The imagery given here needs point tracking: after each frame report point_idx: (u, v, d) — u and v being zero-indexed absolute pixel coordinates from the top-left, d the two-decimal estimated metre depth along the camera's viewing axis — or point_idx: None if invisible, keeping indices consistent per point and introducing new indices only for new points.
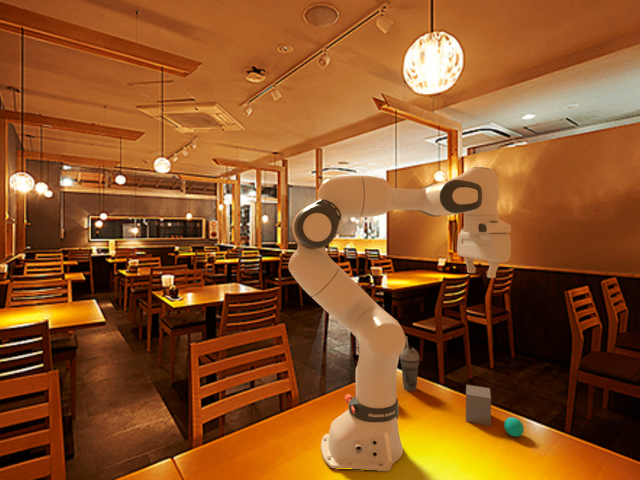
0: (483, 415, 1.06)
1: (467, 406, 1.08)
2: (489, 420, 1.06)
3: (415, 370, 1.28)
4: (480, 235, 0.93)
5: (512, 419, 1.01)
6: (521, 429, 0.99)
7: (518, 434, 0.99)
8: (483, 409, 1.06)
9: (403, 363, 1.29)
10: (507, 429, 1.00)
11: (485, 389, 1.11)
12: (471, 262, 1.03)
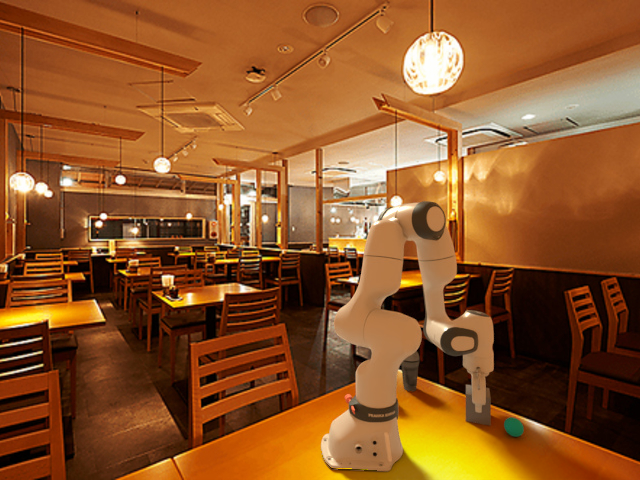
0: (483, 415, 1.07)
1: (467, 406, 1.08)
2: (489, 420, 1.06)
3: (415, 370, 1.28)
4: None
5: (512, 419, 1.01)
6: (521, 429, 0.99)
7: (518, 434, 0.99)
8: (483, 409, 1.07)
9: (403, 363, 1.29)
10: (507, 429, 1.00)
11: None
12: None
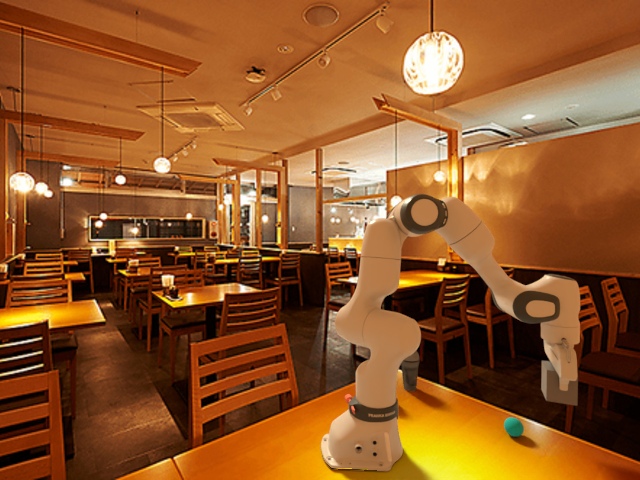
0: (568, 393, 0.92)
1: (548, 383, 0.94)
2: (575, 399, 0.92)
3: (415, 370, 1.28)
4: None
5: (512, 419, 1.01)
6: (521, 429, 0.99)
7: (518, 434, 0.99)
8: (568, 386, 0.92)
9: (403, 363, 1.29)
10: (507, 429, 1.00)
11: None
12: None
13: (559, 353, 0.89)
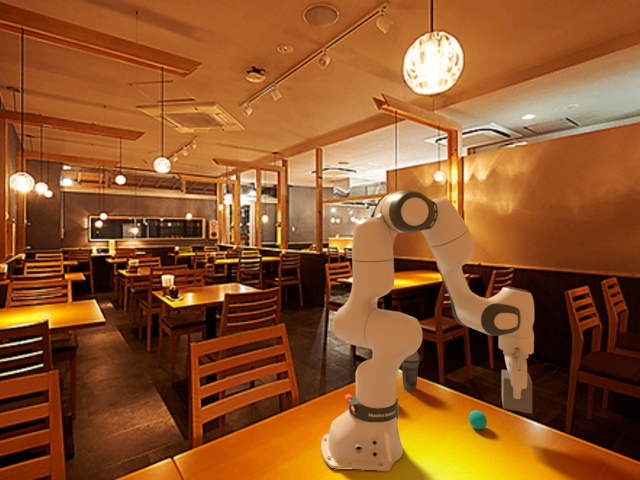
0: (523, 401, 0.96)
1: (505, 391, 0.98)
2: (530, 407, 0.95)
3: (415, 370, 1.28)
4: None
5: None
6: (473, 426, 1.04)
7: (473, 422, 1.03)
8: (523, 394, 0.96)
9: (403, 363, 1.29)
10: (482, 419, 1.03)
11: None
12: None
13: (511, 362, 0.93)
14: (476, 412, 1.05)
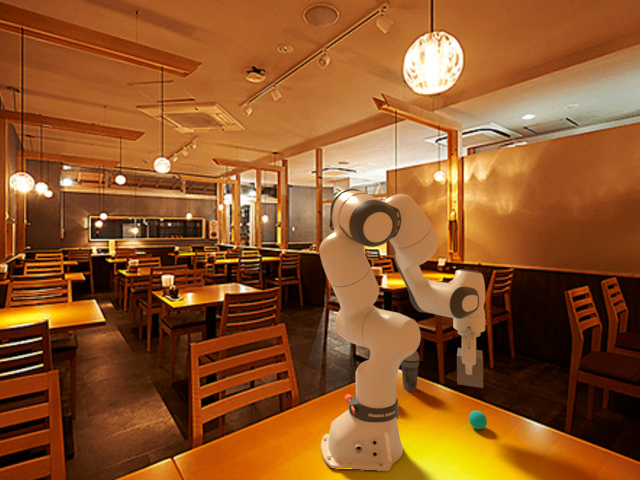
0: (475, 377, 1.01)
1: (458, 368, 1.03)
2: (481, 382, 1.01)
3: (415, 370, 1.28)
4: None
5: None
6: (473, 426, 1.04)
7: (473, 422, 1.03)
8: (475, 370, 1.01)
9: (403, 363, 1.29)
10: (482, 419, 1.03)
11: (477, 351, 1.06)
12: None
13: (462, 340, 0.98)
14: (476, 412, 1.05)
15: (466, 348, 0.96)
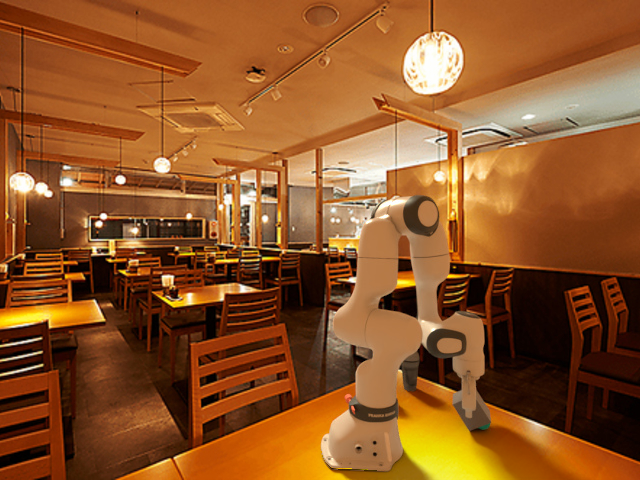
0: (478, 416, 1.02)
1: (461, 415, 1.04)
2: (486, 417, 1.01)
3: (415, 370, 1.28)
4: None
5: (484, 429, 1.04)
6: None
7: None
8: (475, 410, 1.02)
9: (403, 363, 1.29)
10: None
11: None
12: None
13: (462, 385, 0.98)
14: None
15: (466, 394, 0.97)
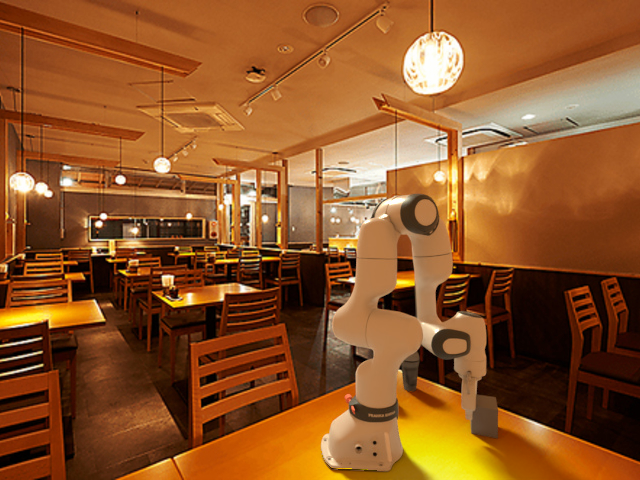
0: (489, 427, 1.00)
1: (472, 418, 1.02)
2: (496, 432, 1.00)
3: (415, 370, 1.28)
4: None
5: None
6: None
7: None
8: (489, 421, 1.00)
9: (403, 363, 1.29)
10: None
11: (491, 398, 1.05)
12: None
13: (462, 385, 0.98)
14: None
15: (466, 394, 0.96)
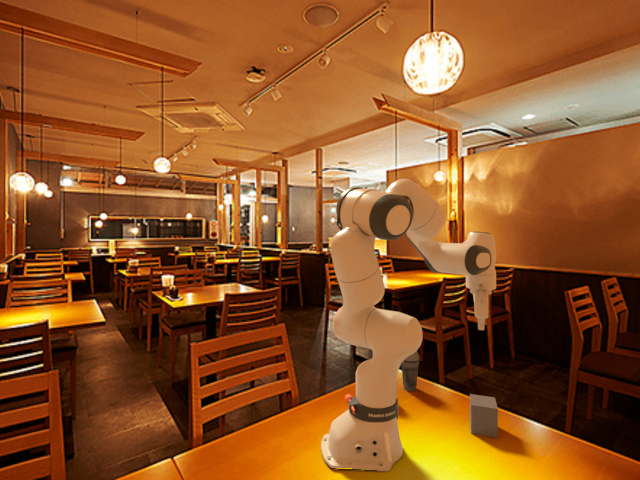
0: (489, 427, 1.00)
1: (472, 417, 1.02)
2: (496, 432, 1.00)
3: (415, 370, 1.28)
4: None
5: None
6: None
7: None
8: (489, 420, 1.00)
9: (403, 363, 1.29)
10: None
11: (490, 398, 1.05)
12: None
13: (475, 296, 1.04)
14: None
15: (479, 303, 1.02)
